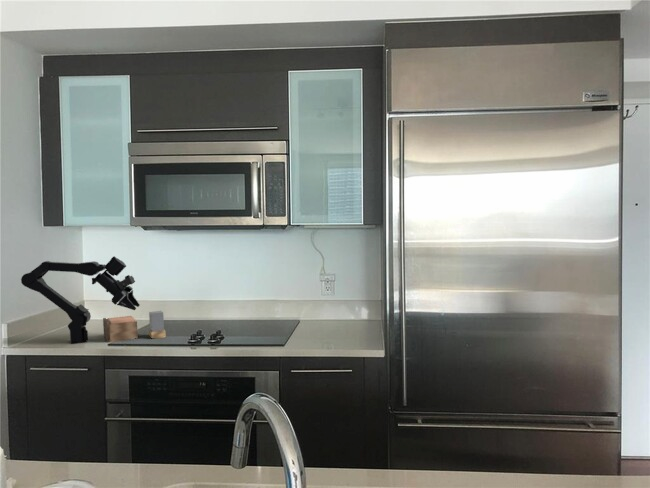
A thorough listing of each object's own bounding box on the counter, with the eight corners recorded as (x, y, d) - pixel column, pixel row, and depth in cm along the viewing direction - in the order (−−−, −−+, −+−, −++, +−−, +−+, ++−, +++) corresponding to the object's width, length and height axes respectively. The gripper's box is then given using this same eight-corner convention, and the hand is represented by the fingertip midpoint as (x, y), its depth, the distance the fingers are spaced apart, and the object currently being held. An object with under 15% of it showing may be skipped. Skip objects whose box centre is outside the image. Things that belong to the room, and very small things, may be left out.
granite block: (152, 331, 250) (151, 313, 249) (149, 329, 254) (149, 311, 254) (164, 330, 252) (163, 312, 252) (161, 328, 256) (160, 310, 256)
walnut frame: (108, 342, 245) (107, 322, 245) (103, 337, 256) (103, 318, 256) (137, 338, 251) (136, 319, 250) (132, 333, 262) (131, 315, 262)
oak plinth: (151, 339, 249) (151, 332, 249) (148, 336, 254) (148, 329, 254) (165, 337, 252) (165, 330, 252) (162, 334, 257) (162, 328, 257)
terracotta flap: (110, 324, 247) (109, 321, 246) (106, 320, 255) (106, 318, 255) (135, 321, 251) (135, 318, 251) (131, 317, 260) (130, 315, 260)
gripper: (118, 272, 240) (147, 297, 243) (126, 268, 259) (153, 291, 261) (99, 291, 240) (128, 316, 242) (109, 286, 258) (136, 309, 260)
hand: (137, 307), depth 251 cm, fingers open, 9 cm apart
